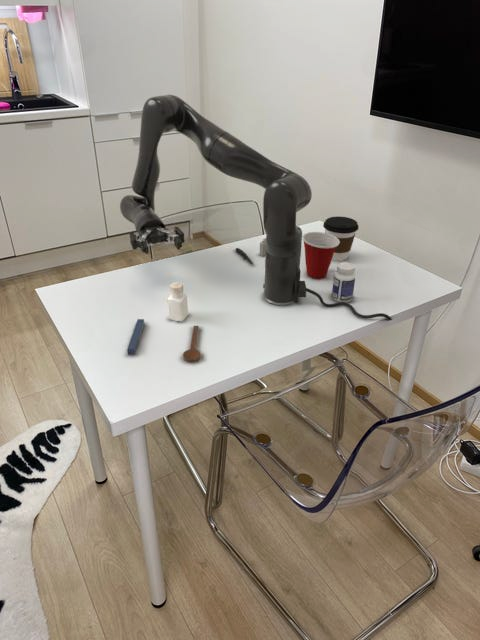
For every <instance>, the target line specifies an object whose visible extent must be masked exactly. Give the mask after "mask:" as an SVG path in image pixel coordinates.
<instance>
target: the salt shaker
mask: <svg viewBox="0 0 480 640" xmlns="http://www.w3.org/2000/svg"><path fill="white" fill-rule="evenodd" d="M169 291H170V294H169V296H168V297H167V311H168V312H167V313H168V319H169V320H172V321H176V322H183V321H184V320H185V319H186V318H187V317H188V315H189V308H188V306H189V305H188V295H187V294H185V293H184V284H183V283H182V282H180V281H174V282H172V283H170V284H169Z"/></svg>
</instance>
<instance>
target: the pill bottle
mask: <svg viewBox="0 0 480 640" xmlns="http://www.w3.org/2000/svg"><path fill="white" fill-rule="evenodd" d="M355 271H356V266H355V264H353V263H352V262H346V261H345V262H344V261H341V262H339V263H338V264H337V265H336V271H335V272H334V274H333V280H332V281H333V282H332V290H331V299H332V300H333V301H334V302H336V303H338V302H345V303H349V302H351V301H352V300H353V298H354V291H355V284H356V273H355Z"/></svg>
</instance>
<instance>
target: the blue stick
mask: <svg viewBox="0 0 480 640" xmlns="http://www.w3.org/2000/svg"><path fill="white" fill-rule="evenodd" d="M144 327H145V319H144V318H137V321H136V323H135V326H134V329H133V331H132V335H131V338H130V340H129V343H128V346H127V349H126V351H127V355H128V356H129V355H130V356H131V355H132V356H134V355H136V352H137V350H138V346H139V343H140V340H141V337H142V333H143V330H144Z"/></svg>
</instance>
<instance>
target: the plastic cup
mask: <svg viewBox="0 0 480 640" xmlns="http://www.w3.org/2000/svg"><path fill="white" fill-rule="evenodd" d="M302 242H303V247H304V258H305V259H304V260H305V267H306V275H307V277H308V278H310V279H313V280H323V279H325V278H326V277H327V275H328V273H329V268H330V267H331V264H332V261H333V260H332V257H333V254H334V251H335V249H336V247H337V246H338V245H339V243H340V241H339V239H338V238H336V237H335V236H333V235H330V234H327V233H325V232H323V231H321V232H320V231H309V232H306V233H304V234H302Z"/></svg>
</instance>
